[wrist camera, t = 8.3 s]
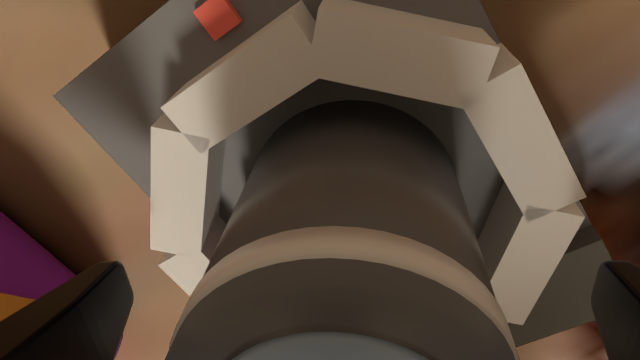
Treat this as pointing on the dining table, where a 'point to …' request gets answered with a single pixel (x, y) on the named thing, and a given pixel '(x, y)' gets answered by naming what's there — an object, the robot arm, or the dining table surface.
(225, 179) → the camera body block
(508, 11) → the dining table surface
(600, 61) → the dining table surface
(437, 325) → the lens
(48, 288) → the toy camera
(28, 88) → the dining table surface
